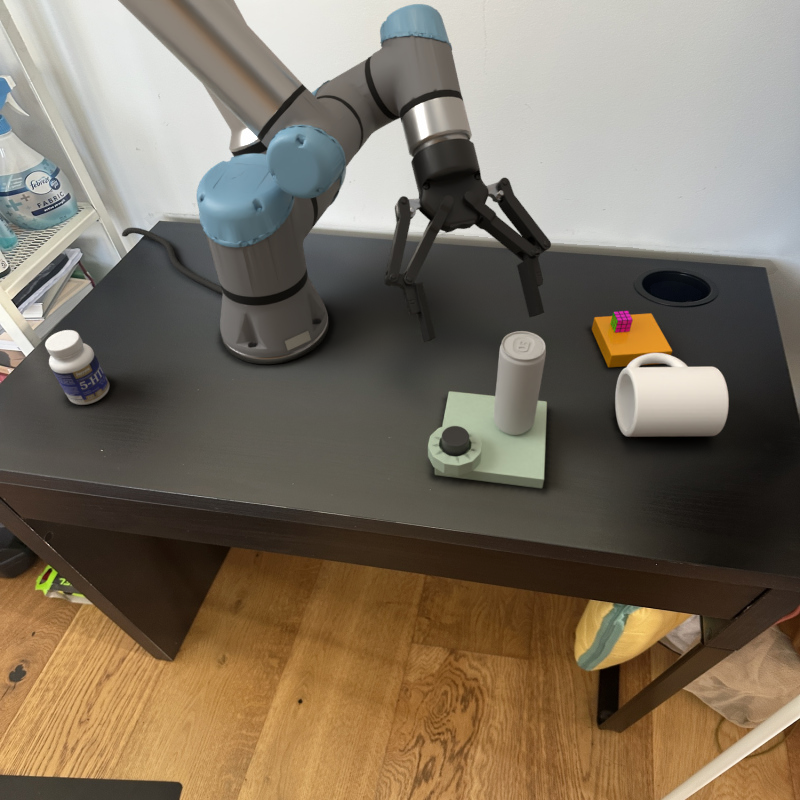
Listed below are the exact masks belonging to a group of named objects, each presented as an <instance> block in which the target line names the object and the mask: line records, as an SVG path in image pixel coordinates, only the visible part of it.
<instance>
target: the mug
mask: <svg viewBox="0 0 800 800" xmlns="http://www.w3.org/2000/svg"><path fill="white" fill-rule="evenodd" d="M653 363H661V364H660V365H667V366H645V365H644V364H651V365H654V364H653ZM641 366H642V367H641ZM728 390H729V389H728V386H727V382H726V379H725V376H724V375H723V373H722V371H720V370H719V369H718V368H717V367H715V366H688V365H687V363H685V362H684V361H683V360H681V359H680V358H677V357H676V356H673V355H672V354H671V355H668V354H663V353H650V354H645V355H642V356H640V357H637V358H636V359H634V360H632V361H631V362H630V363H629V364H628V365H627V366H625V367H624V368H623V369H622V370H621V371H620V373H619V375H618V377H617V381H616V386H615V396H614V406H615V407H614V408H615V417H616V421H617V426H618V429H619V431H620V432H621V434H622V435H624V436H625V437H627V438H628V437H629V438H631V437H634V438H637V437H641V438H642V437H644V438H645V437H649V438H650V437H715V436H717V435H719V434H720V433H721V432H722V430H723V429H724V427H725V426H726V422H727V419H728V414H729V401H730V400H729V397H730V396H729V391H728Z"/></svg>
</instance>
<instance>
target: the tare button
mask: <svg viewBox="0 0 800 800" xmlns="http://www.w3.org/2000/svg"><path fill="white" fill-rule="evenodd" d="M468 448H469V433H468V432H467V430H465V429H464V428H462V427H459V426H451V427H448V428H446V429H445V430H444V431H443V433H442V449H443V451H444V452H445V453H446V454H448V455H450V456H461V455H463V454H465V453H466V452H467V450H468Z"/></svg>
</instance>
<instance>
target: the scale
mask: <svg viewBox="0 0 800 800" xmlns="http://www.w3.org/2000/svg"><path fill="white" fill-rule="evenodd" d="M494 404H495V395H490V394H489V395H488V394H481V393H480V394H479V393H469V392H460V391H448V395H447V399H446V404H445V409H444V416H443V420H442V426H440V427H438V428H437V429H436V430H435V431H433V432H432V434H431V435H430V436H429V439H428V444H427V458H428V459H429V461H430V463H431V465H432V467H433V468H434V475H435V476H440V477H449V478H457V479H465V480H473V481H479V482H487V483H495V484H502V485H512V486H519V487H527V488H535V489H543V487H544V482H545V467H546V441H547V440H546V438H547V416H548V415H547V412H548V402H547V400H545V401H544V400H538V403H537V408H536V414H535V420H534V424H533V426H532V427H531V428H530V429H529V430H528V431H526V432H524V433H522V434H519V435H509V434H506V433H504V432H502V431H501V430H499V428H498V427H497V426H496V425H495V423H494V419H493V414H494ZM451 426H459V427H462V428H464V429H465V430H467V432H468V433H469V448H468V450H467V452H466V453H465V454H463V455H461V456H450V455H448V454H446V453H445V452H444V451H443V449H442V433H443V431H444V430H445V429H446V428H448V427H451Z"/></svg>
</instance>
